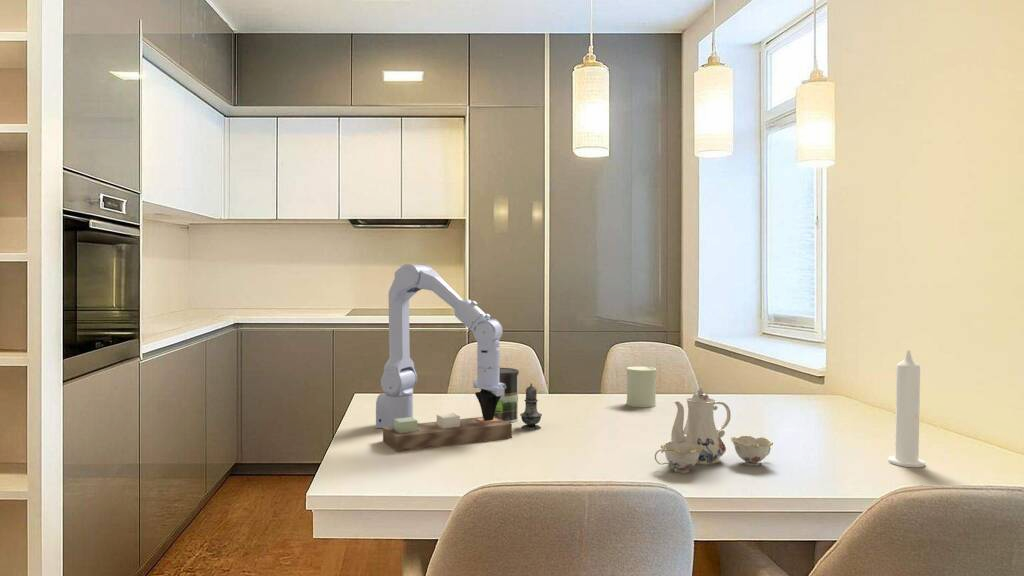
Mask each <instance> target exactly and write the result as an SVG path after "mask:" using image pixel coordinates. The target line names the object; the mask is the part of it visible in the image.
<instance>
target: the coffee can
mask: <svg viewBox="0 0 1024 576" xmlns="http://www.w3.org/2000/svg"><path fill="white" fill-rule="evenodd" d="M519 374H520V371H519V369H516V368H512V367H511V368H510V367H500V371H499V383H503V384H504V385H503V386H502V387H503V388H504V396H501V398H500V399H499V401H498V403H497V406H496V410H495V414H494V416H495V417H497V418H499V419H502V420H504V421H506V422H508V423H511V424H512V423H516V422H518V421H519Z"/></svg>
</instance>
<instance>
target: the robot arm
mask: <svg viewBox="0 0 1024 576" xmlns="http://www.w3.org/2000/svg"><path fill="white" fill-rule="evenodd" d="M421 290H425V291H426V290H427V291H431V292H433V293H434V294H435V295H436V296H438V297H439V298H440V299H441V300H442V301H444V302H445V303H446V304H447V305H449V307H451V308H452V309H453V311H454V316H455V318H457V319H458V321H460V322H461V323H462V325H464V326H465V327H466V328H468V330H470V331H471V332H472V334H473V337H474V340H475V342H477V345H476V347H477V348H476V351H477V352H476V353H477V354H476V355H477V356H476V357H477V358H476V363H477V364H476V366H477V367H476V371H477V372H476V375H477V377H476V378H477V379H474V380H473V381H472V382H473V384H472V388H474V389H479V390H480V391H477V392H475V397H476V399H477V401H478V403H479V406H480V410H481V414H482V417H483V419H484V420H493V418H494V414H495V410H496V406H497V403H498V401H499V399H500V398H501V396H504V388H503V387H502V386H503V385H504V384H503V383H499V371H500V368H501V367H500V366H501V365H500V361H501V360H500V357H501V356H500V339H501V338H502V336H503V332H504V329H503V328H504V327H503V326H502V324H501V323H500V321H499V320H498V319H495V318H491V315H490V314H489V313H485V312H484V311H483V310H482V309H481V308H480V307H478V303H477V301H475V300H471V299H463V298H462V297H461V296H460V295H459V294H458V293H457V292H456V291H455V290H454V289H453V288H452V287H451V286H450V285H449V284H448V283H447V282H446V281H445V280H444V279H443V278H442V277H441V276H440V275H439V273H438V272H437V271H436V270H434V269H432V267H431V266H429V265H427V264H422V263H421V264H410V263H406V264H403V265H401V266H400V267H399V268H398V269H397V270H396V271H395V272H394V279H393V281H392V283H391V286H390V287H389V290H388V347H389V349H388V351H389V352H388V355H389V357H388V360H386V362H385V364H384V366H383V374H382V376H381V378H380V386H381V389H382V390H383V391H384V392H380V393H379V394H378V395H377V397H376V402H375V425H374V428H375V429H383V427H389V426H394V419H398V418H408V417H412V418H414V388H415V387H416V385H417V382H418V375H417V372H416V370H415V362H414V361H413V360H412V358H411V353H410V351H411V350H410V348H411V347H410V346H411V345H410V299H411V298H412V297H414V296H415V295H416V293H418V292H419V291H421ZM418 423H419V422H418V421H417V424H418Z"/></svg>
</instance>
